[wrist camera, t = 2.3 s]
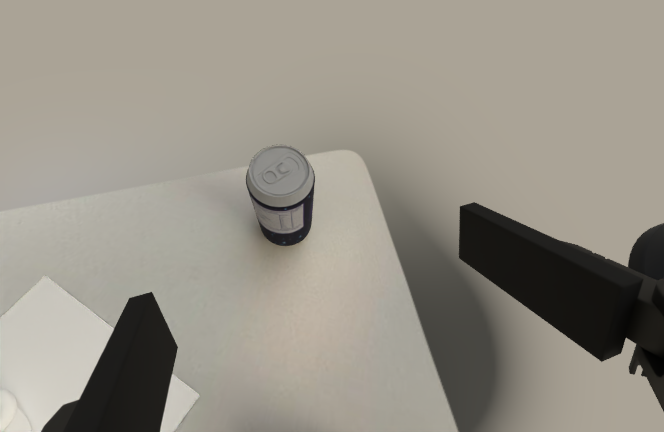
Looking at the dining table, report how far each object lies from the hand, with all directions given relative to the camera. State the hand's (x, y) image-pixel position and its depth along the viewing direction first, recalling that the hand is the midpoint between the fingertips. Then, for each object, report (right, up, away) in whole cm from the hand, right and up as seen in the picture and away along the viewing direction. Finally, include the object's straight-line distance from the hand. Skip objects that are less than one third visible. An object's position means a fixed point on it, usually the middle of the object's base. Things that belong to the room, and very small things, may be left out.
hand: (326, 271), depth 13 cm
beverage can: (-5, +1, +23) cm, 24 cm away
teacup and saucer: (-26, -16, +13) cm, 33 cm away
